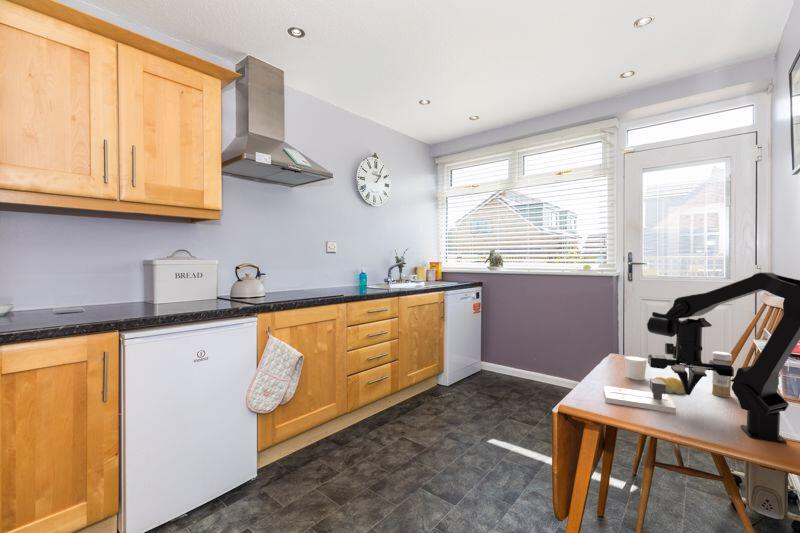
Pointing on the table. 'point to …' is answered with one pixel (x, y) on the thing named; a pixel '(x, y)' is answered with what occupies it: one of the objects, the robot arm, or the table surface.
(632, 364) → the white cup
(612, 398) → the fader panel
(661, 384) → the fader knob
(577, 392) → the table surface
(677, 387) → the bread roll
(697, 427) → the table surface
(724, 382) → the sprinkles bottle
